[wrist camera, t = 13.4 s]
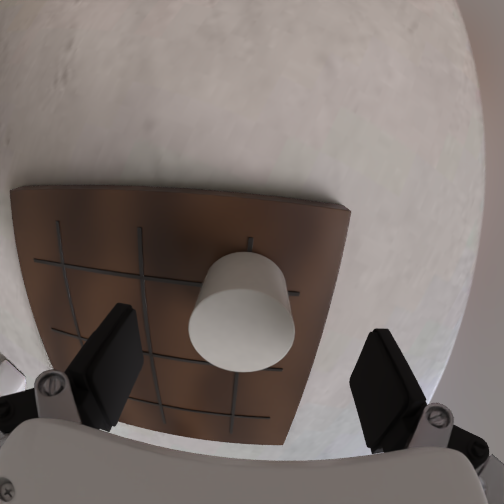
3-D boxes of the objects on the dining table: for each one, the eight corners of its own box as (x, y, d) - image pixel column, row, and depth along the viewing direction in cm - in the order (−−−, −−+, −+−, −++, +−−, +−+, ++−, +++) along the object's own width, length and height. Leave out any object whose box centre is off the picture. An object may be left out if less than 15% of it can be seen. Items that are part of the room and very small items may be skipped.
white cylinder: (292, 256, 15) (304, 294, 11) (280, 327, 16) (285, 375, 12) (204, 247, 14) (186, 282, 11) (202, 320, 16) (189, 366, 12)
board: (343, 204, 15) (352, 211, 14) (282, 433, 23) (283, 446, 22) (22, 186, 15) (8, 190, 13) (76, 396, 23) (71, 406, 21)
